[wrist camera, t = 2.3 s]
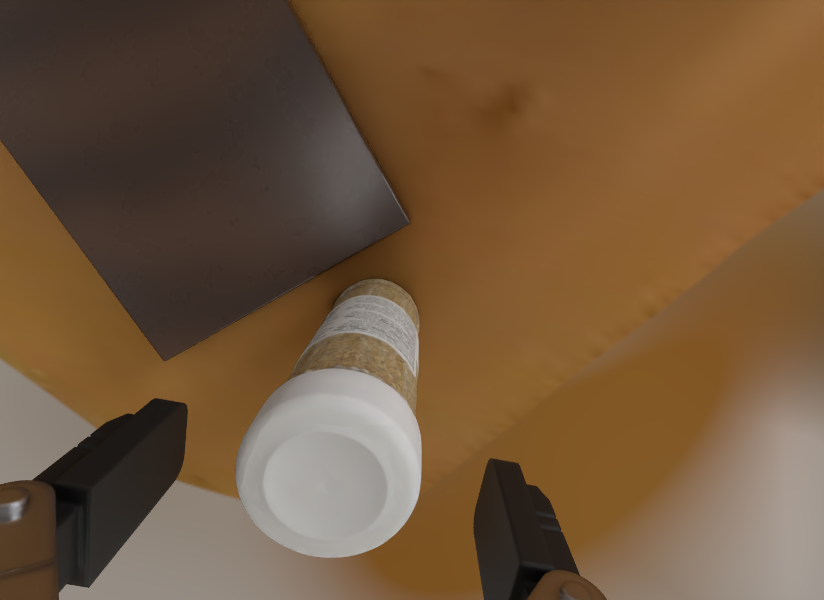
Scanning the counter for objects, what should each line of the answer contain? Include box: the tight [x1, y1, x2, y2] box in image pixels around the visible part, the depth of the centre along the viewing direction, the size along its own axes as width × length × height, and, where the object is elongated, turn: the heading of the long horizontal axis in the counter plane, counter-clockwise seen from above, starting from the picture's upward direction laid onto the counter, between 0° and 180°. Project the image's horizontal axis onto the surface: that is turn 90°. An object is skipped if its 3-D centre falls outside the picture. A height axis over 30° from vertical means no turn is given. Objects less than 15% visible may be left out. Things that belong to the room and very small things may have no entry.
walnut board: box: [0, 0, 410, 361], centre depth 21 cm, size 17×14×2 cm
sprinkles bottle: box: [235, 279, 421, 558], centre depth 18 cm, size 5×4×14 cm
